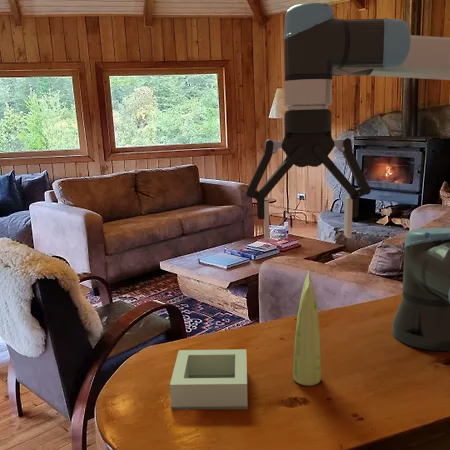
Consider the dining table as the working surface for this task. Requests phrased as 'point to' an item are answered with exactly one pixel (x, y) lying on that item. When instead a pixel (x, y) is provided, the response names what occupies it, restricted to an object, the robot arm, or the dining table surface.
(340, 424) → the dining table surface
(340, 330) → the dining table surface
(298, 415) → the dining table surface
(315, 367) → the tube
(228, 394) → the socket block
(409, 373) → the dining table surface
